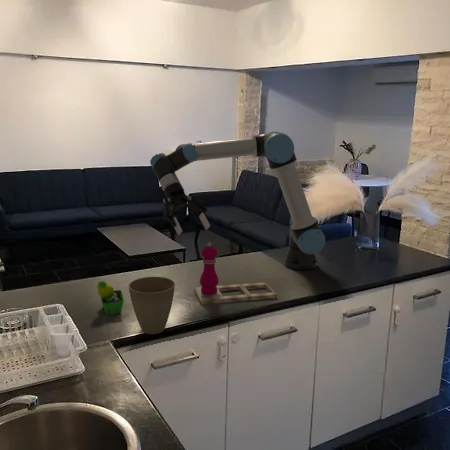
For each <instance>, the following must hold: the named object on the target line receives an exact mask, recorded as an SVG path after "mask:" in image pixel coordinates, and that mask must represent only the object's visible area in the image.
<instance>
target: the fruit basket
mask: <svg viewBox="0 0 450 450" xmlns="http://www.w3.org/2000/svg"><path fill="white" fill-rule="evenodd" d="M97 283H98V284H97V285H96V288H97V293H98V296H99V297H100V301H101V305H102V306H103V307H102V308H103V309H104V313H105V315H107V316H108V315H117V314H118V315H119V314H121V313H122V309H123V305H124V303H125V300H124V296H123V292H122V290H120V289H117V290H114V287H113V285H111V284H110V283H108V282H106V281H104V280H100V281H98V282H97Z"/></svg>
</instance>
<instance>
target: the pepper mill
mask: <svg viewBox="0 0 450 450" xmlns="http://www.w3.org/2000/svg"><path fill="white" fill-rule="evenodd" d="M212 244H213V243H211V242H207V244H206V246H204V247H203V248H202V249H201V257H202V263H203V271H202V273H201V275H200V278H199V284H200V285H201V286H200V287H201V293H203V294H206V295H213V294H216V293H217V287H216V286H219V285H218V284H219V276H218V274H217V271H216V269H215V267H216V266H215V265H216V263H217V262H216V260H217V255H218V250H217V248H216V247H214V246H212Z"/></svg>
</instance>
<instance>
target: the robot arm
mask: <svg viewBox="0 0 450 450" xmlns="http://www.w3.org/2000/svg"><path fill="white" fill-rule="evenodd" d="M247 156H253V157H255V158H259V157H260V158H262V157H263V158H266V160H267V163H268V165H269V168H270V170H272V171H273V172H275V174H276V178H277V181H278V185H279V186H280V190H281V192H282V194H283V198H284V200H285V204H286V206H287V209H288V212H289V214H290V220H289V237H288V241H289V242H288V250H287V252H286V255H285V258H284V266H285V267H287V268H289V269H293V270H299V271H300V270H301V271H307V270H308V271H309V270H313V269H316V268H317V266H318V260H317V256H316V254H317V253H320V252H321V251H322V250H323V248H324V247H325V244H326V236H325V234H324V233H323V231H322V230H321V227H320V225H319V221H318V218H316V217H315V216H313V215H312V212H311V208H310V207H309V206H310V205H309V203H308V200H307V197H306V194H305V192H304V189H303V186H302V183H301V180H300V177H299V174H298V170H297V168H296V162H297V160H298V159H297V156H296V153H295V144H294V141H293V139H292V137H290V136H289V135H288V134H285V133H283V132H279V131H270V132H265V133H259V134H254V135H252V136H251V137H246V138H238V139H227V140H217V141H209V142H207V141H206V142H200V143H199V142H198V143H192V142H188V143H183V144H180V145H178V146H177V147H176V149H175V150H173V152H171V153H169V154H167V155H166V154H165V153H163V152H160V153H158V154H157V153H156V154H155V155H153V156H152V157H151V159H150V161H149V163H150V166H151V168H152V171H153V172H154V175H155V177H156V178H157V180H158V182H159V184H160V186H161V188H162V190H163V192H164V195H165V196H164V198H163V199H162V201H161V202H162V204H163V215H162V216H163V217H162V219H163V220H164V221H167V222H168V223H170V225H171V227H172V228H174V229H175V232H176V234H177V235H178V236H180V235H181V233H182V232H183V229H182V227H181V226H180V223H179V221H178V219H177V217H176V216H175V212H176V208H184V207H185V208H188V209H189V210H191V211H192V212H194V213H196V214H198V215H199V216H198V218H199V219H200V222H201V223H202V225H203V228H204V229H205V230H209V228H210V227H211V224H210V222H209V218H208V217H207V215H206V213H207V212H208V208H207V207H206V206H205V205H204V204H202V203H201V202H200V201H199V200H198V199H196V197H195V195H194V194H193V193H190V194H185V193H186V192H185V189H184V187H183V185H182V183H181V181H180V179H179V177H178V175H177V174H176V172H178V171H180V170H182V168H184V167H186V166H187V165H190V164H191V163H193V162H198V161H208V160H209V161H210V160H216V159H217V160H218V159H229V158H236V157H237V158H239V157H247ZM170 204H171V208H170V207H169V206H170ZM169 211H170V212H169Z"/></svg>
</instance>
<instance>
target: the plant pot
mask: <svg viewBox="0 0 450 450" xmlns="http://www.w3.org/2000/svg"><path fill="white" fill-rule="evenodd" d="M175 286H176V283H175V281H174V280H173V279H171V278H168V277H164V276H163V277H162V276H145V277H140V278H139V277H138V278H137V279H134V280H132V281H131V282H129V283H128V291H129V296H130V301H131V305H132V308H133V310H134V311H133V312H134V314H135V318H136V320H137V323H138V324H139V327H140V329H141V331H142V332H143V333H144V334H147V335H155V334H156V335H157V334H161V333H162V332H164V331H165V329H166V326H167V323H168V319H169V317H170V314H171V310H172V306H173V300H174V294H175V293H174V292H175Z"/></svg>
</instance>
